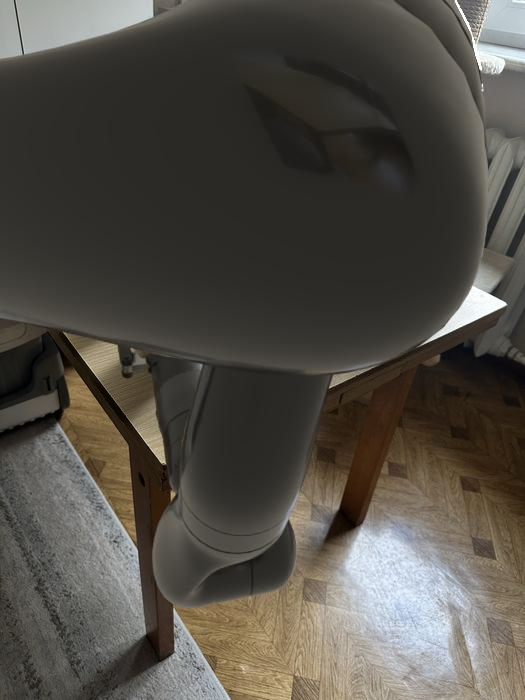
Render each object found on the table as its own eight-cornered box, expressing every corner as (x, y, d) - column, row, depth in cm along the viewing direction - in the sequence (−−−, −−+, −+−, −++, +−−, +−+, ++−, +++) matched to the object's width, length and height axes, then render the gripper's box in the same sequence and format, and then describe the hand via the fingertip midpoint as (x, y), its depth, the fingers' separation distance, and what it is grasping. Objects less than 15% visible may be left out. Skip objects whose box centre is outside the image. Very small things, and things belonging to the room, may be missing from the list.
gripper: (266, 366, 50) (233, 285, 62) (117, 378, 46) (113, 289, 59) (258, 420, 54) (229, 334, 67) (122, 435, 51) (118, 341, 63)
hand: (175, 313), depth 63 cm, fingers open, 8 cm apart
